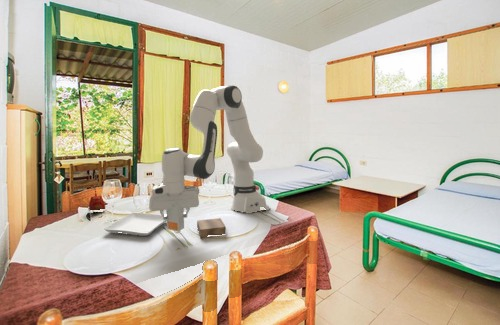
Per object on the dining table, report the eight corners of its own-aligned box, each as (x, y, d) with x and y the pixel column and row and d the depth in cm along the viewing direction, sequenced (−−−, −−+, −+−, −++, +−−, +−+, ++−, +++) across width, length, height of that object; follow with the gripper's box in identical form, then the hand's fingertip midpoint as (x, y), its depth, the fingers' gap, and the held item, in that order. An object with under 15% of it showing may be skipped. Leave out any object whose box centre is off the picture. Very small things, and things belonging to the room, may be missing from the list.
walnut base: (220, 226, 124) (220, 218, 123) (225, 235, 113) (225, 226, 113) (197, 228, 120) (197, 220, 120) (200, 238, 110) (200, 229, 109)
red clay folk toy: (90, 215, 136) (88, 187, 134) (88, 211, 141) (86, 184, 139) (106, 212, 140) (104, 185, 138) (104, 208, 146) (102, 183, 144)
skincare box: (166, 229, 110) (165, 202, 108) (173, 226, 114) (171, 199, 112) (178, 232, 108) (177, 204, 106) (184, 228, 112) (183, 201, 110)
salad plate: (147, 240, 108) (147, 232, 108) (103, 235, 112) (102, 228, 111) (171, 222, 129) (171, 215, 128) (133, 218, 132) (132, 212, 132)
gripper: (198, 183, 114) (198, 213, 116) (148, 186, 108) (150, 218, 110) (200, 186, 108) (200, 218, 110) (147, 190, 102) (149, 223, 104)
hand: (175, 218), depth 110 cm, fingers closed on skincare box, 7 cm apart
